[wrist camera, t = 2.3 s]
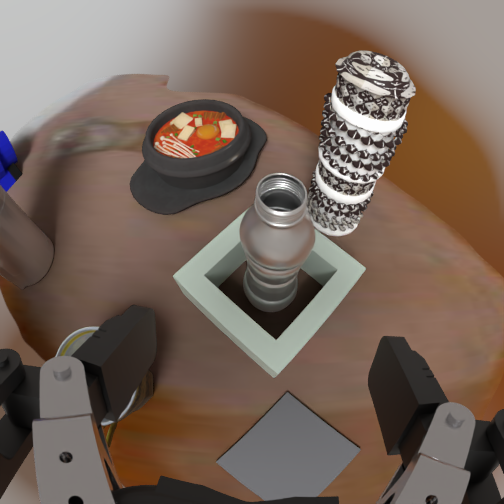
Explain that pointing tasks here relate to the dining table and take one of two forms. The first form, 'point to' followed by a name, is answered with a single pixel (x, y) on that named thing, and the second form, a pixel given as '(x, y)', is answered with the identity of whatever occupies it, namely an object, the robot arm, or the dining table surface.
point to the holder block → (238, 322)
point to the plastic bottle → (276, 241)
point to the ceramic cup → (140, 394)
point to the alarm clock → (7, 163)
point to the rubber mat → (288, 453)
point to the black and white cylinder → (357, 138)
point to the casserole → (195, 155)
